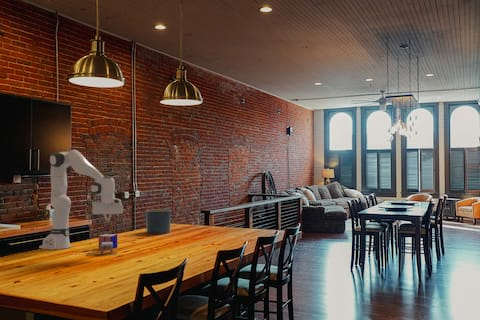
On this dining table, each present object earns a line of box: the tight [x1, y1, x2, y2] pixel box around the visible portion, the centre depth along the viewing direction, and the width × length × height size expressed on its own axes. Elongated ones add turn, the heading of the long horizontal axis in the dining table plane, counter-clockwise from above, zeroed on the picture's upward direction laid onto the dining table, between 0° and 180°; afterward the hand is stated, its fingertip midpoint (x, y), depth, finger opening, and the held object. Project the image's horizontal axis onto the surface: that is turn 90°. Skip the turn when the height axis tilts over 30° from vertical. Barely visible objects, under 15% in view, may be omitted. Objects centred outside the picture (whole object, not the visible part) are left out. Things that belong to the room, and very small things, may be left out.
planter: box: [145, 208, 172, 235], centre depth 405 cm, size 22×22×20 cm
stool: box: [100, 242, 114, 256], centre depth 305 cm, size 7×7×7 cm
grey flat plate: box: [85, 251, 118, 257], centre depth 304 cm, size 20×12×1 cm, turn 102°
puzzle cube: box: [98, 233, 118, 251], centre depth 325 cm, size 10×10×10 cm
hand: (107, 220), depth 305 cm, fingers closed
